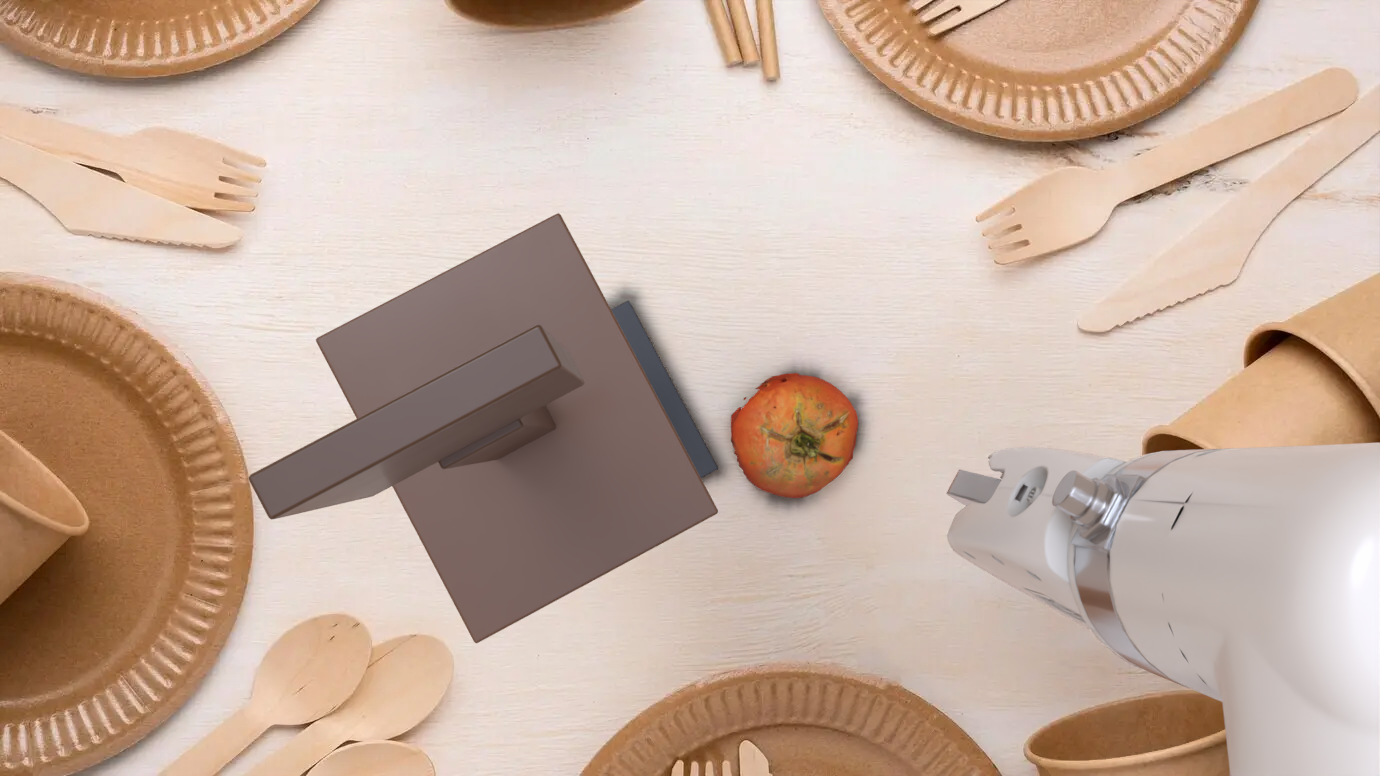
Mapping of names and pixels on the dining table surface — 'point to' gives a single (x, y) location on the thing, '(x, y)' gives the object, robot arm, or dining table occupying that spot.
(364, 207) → the dining table surface
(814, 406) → the tomato
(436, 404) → the stand
